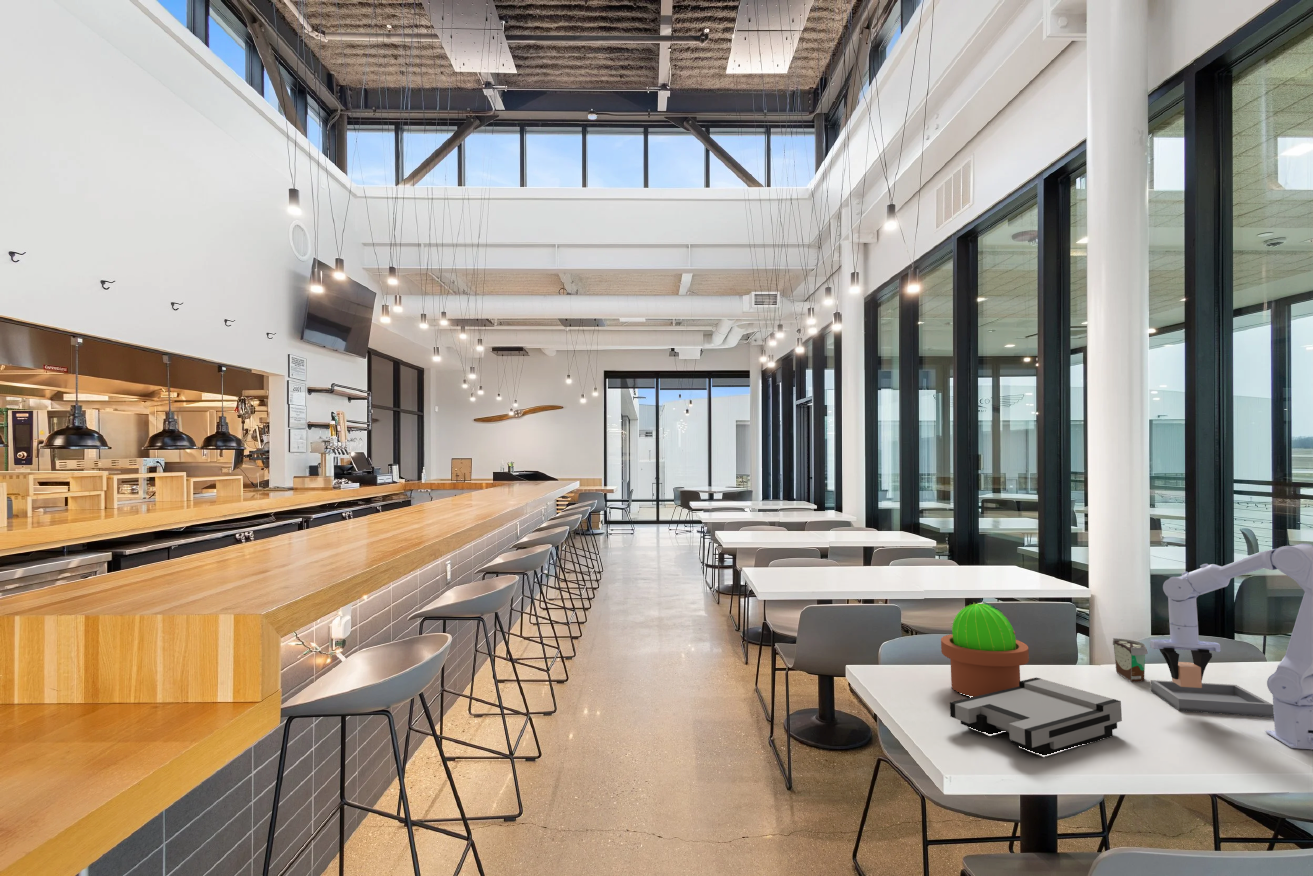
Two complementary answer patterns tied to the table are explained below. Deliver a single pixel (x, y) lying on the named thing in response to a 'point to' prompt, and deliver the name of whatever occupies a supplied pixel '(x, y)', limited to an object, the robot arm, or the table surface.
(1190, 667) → the terracotta block
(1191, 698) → the bin
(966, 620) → the potted cactus
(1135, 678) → the food container
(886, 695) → the table surface
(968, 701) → the gray blocky slab
